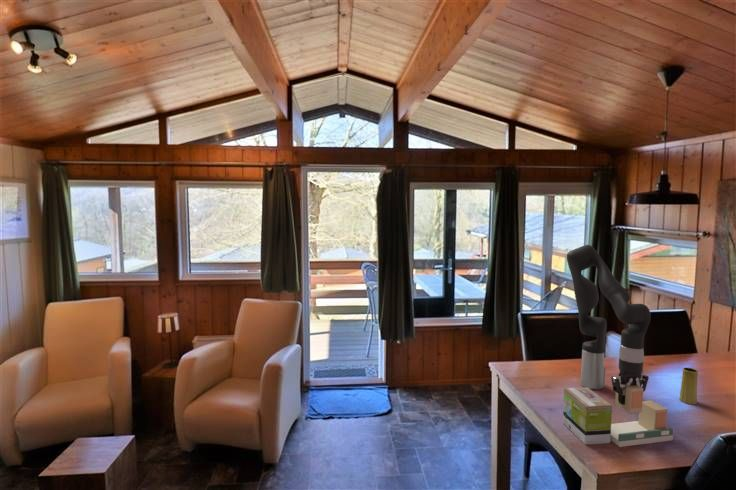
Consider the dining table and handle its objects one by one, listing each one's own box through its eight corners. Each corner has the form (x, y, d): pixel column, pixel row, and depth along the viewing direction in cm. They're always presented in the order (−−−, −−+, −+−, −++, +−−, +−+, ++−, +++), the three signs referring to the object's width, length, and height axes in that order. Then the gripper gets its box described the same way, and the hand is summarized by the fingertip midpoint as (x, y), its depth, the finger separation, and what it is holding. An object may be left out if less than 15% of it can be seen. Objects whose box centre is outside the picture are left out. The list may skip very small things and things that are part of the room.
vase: (693, 399, 184) (695, 368, 183) (699, 405, 178) (701, 373, 177) (677, 397, 186) (679, 366, 185) (682, 403, 180) (684, 371, 179)
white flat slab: (647, 424, 162) (647, 414, 162) (672, 440, 152) (673, 429, 151) (597, 430, 158) (597, 419, 158) (620, 447, 147) (620, 435, 147)
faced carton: (649, 422, 160) (650, 400, 159) (666, 432, 153) (667, 409, 152) (638, 424, 159) (639, 401, 158) (654, 434, 152) (656, 410, 151)
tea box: (561, 423, 164) (563, 387, 162) (586, 422, 165) (587, 386, 163) (584, 445, 149) (586, 405, 147) (611, 444, 150) (613, 404, 148)
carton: (626, 403, 157) (627, 380, 157) (642, 412, 150) (644, 388, 150) (615, 404, 157) (616, 381, 156) (630, 413, 149) (632, 389, 149)
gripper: (639, 353, 157) (637, 397, 158) (606, 355, 154) (603, 400, 156) (656, 360, 149) (653, 406, 151) (621, 363, 147) (619, 409, 148)
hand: (628, 402), depth 153 cm, fingers closed on carton, 5 cm apart
